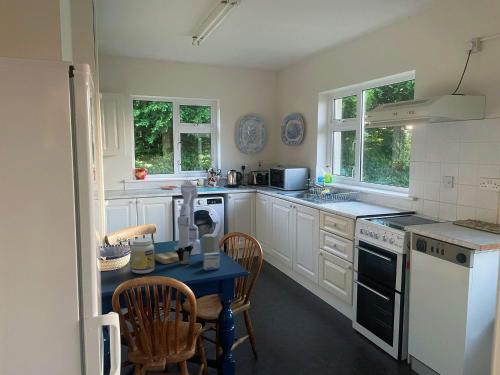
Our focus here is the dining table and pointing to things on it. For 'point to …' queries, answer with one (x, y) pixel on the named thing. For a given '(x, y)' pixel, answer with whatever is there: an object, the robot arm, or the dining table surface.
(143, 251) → the supplement tub
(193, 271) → the dining table surface
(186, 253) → the column
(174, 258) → the green-striped tan block
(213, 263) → the medicine box
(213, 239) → the skincare box
